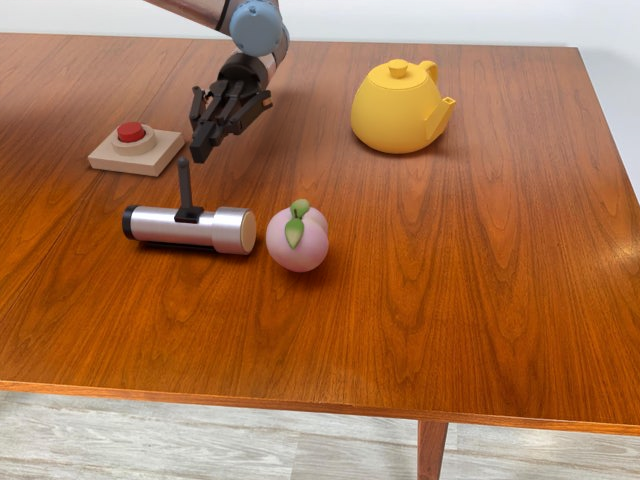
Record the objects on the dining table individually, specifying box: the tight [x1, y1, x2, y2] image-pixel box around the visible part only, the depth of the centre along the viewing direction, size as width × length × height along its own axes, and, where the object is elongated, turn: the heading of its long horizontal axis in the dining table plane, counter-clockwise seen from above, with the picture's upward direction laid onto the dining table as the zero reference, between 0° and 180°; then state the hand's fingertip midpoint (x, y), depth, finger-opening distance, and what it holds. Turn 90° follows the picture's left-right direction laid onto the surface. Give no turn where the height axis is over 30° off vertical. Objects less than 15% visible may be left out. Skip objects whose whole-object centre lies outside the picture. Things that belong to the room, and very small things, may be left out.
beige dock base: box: [87, 123, 186, 177], centre depth 98 cm, size 12×10×4 cm
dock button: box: [116, 121, 145, 143], centre depth 96 cm, size 4×4×2 cm
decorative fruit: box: [265, 198, 330, 273], centre depth 77 cm, size 9×8×10 cm
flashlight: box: [121, 204, 257, 256], centre depth 81 cm, size 17×6×6 cm, turn 82°
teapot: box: [350, 58, 457, 155], centre depth 98 cm, size 20×19×13 cm
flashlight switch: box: [176, 156, 194, 208], centre depth 78 cm, size 2×2×7 cm
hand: (196, 155), depth 80 cm, fingers closed
